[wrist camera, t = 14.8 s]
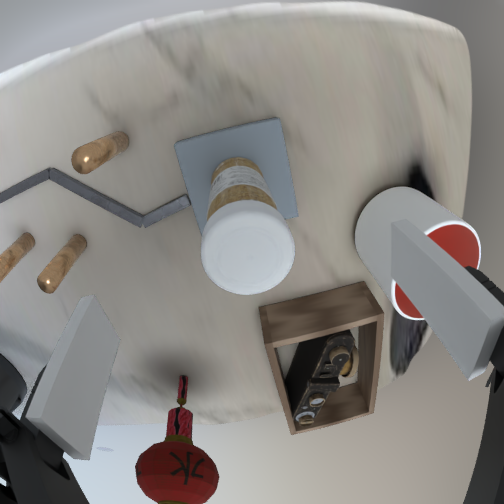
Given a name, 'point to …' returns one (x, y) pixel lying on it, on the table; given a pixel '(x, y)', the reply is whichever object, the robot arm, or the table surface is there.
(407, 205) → the cup
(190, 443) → the lantern
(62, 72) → the table surface
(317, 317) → the camera corral
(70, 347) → the robot arm
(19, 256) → the wire course
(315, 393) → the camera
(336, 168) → the table surface
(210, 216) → the sprinkles bottle
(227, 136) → the pad
